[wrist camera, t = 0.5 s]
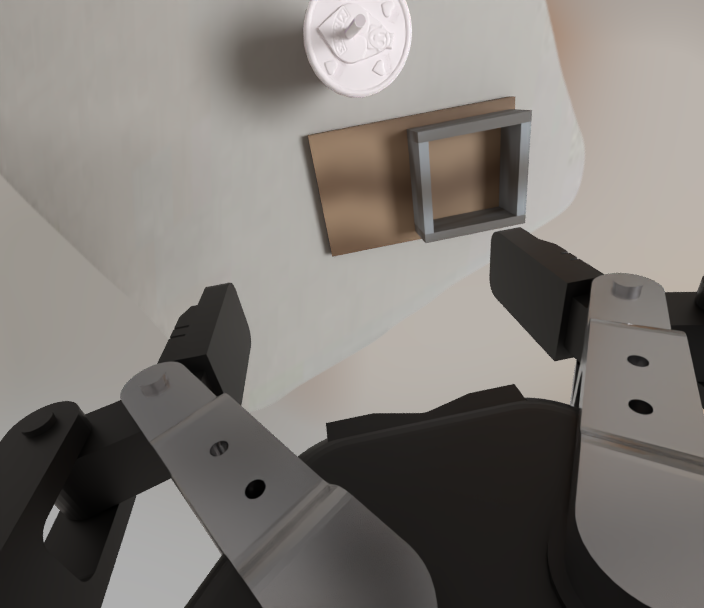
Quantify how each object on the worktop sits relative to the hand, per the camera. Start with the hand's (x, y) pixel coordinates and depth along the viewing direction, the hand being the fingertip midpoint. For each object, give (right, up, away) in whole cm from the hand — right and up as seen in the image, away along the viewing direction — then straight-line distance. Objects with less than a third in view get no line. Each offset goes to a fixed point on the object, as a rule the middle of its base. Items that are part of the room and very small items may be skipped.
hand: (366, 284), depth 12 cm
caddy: (+5, +11, +24) cm, 27 cm away
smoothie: (-1, +20, +19) cm, 27 cm away
